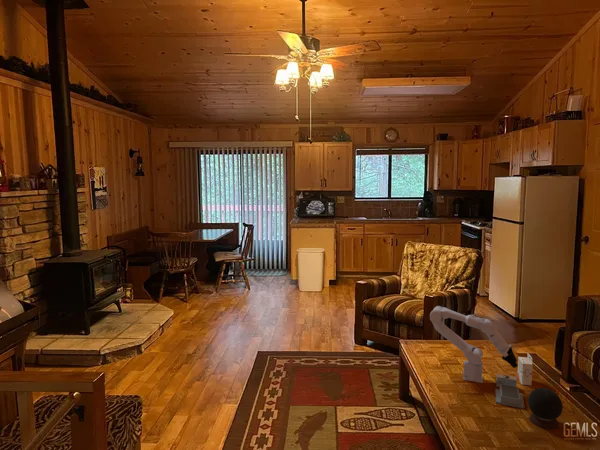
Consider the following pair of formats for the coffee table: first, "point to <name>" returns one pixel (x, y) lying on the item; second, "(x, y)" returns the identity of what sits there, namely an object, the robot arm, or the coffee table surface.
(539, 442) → the coffee table surface
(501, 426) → the coffee table surface
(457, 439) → the coffee table surface
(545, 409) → the black ball on base
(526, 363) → the ink cartridge box
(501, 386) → the stand
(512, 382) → the housing
